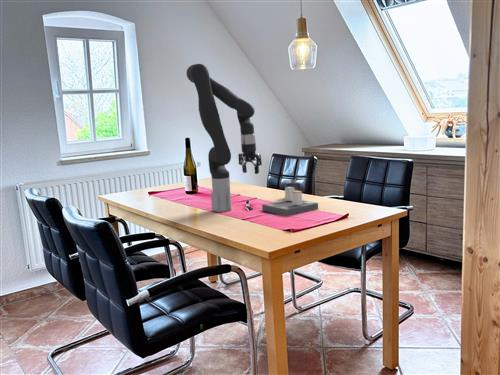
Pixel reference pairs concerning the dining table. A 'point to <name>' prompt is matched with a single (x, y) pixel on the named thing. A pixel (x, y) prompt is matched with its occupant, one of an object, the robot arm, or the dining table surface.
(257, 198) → the dining table surface
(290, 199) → the block
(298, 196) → the block
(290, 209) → the dual slider panel
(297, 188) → the flask
